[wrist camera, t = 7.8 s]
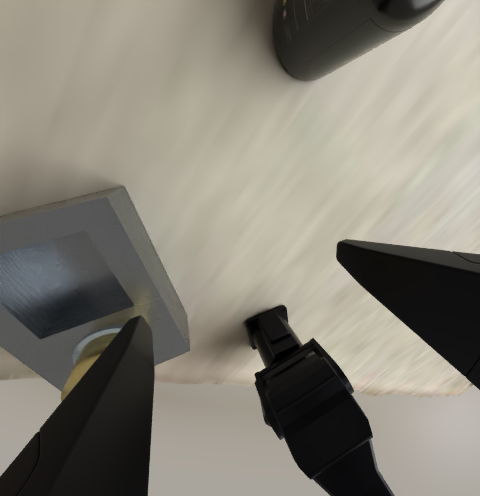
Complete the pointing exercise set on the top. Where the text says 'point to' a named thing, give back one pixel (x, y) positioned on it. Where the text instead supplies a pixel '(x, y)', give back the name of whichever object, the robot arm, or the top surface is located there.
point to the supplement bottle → (339, 30)
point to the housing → (82, 282)
